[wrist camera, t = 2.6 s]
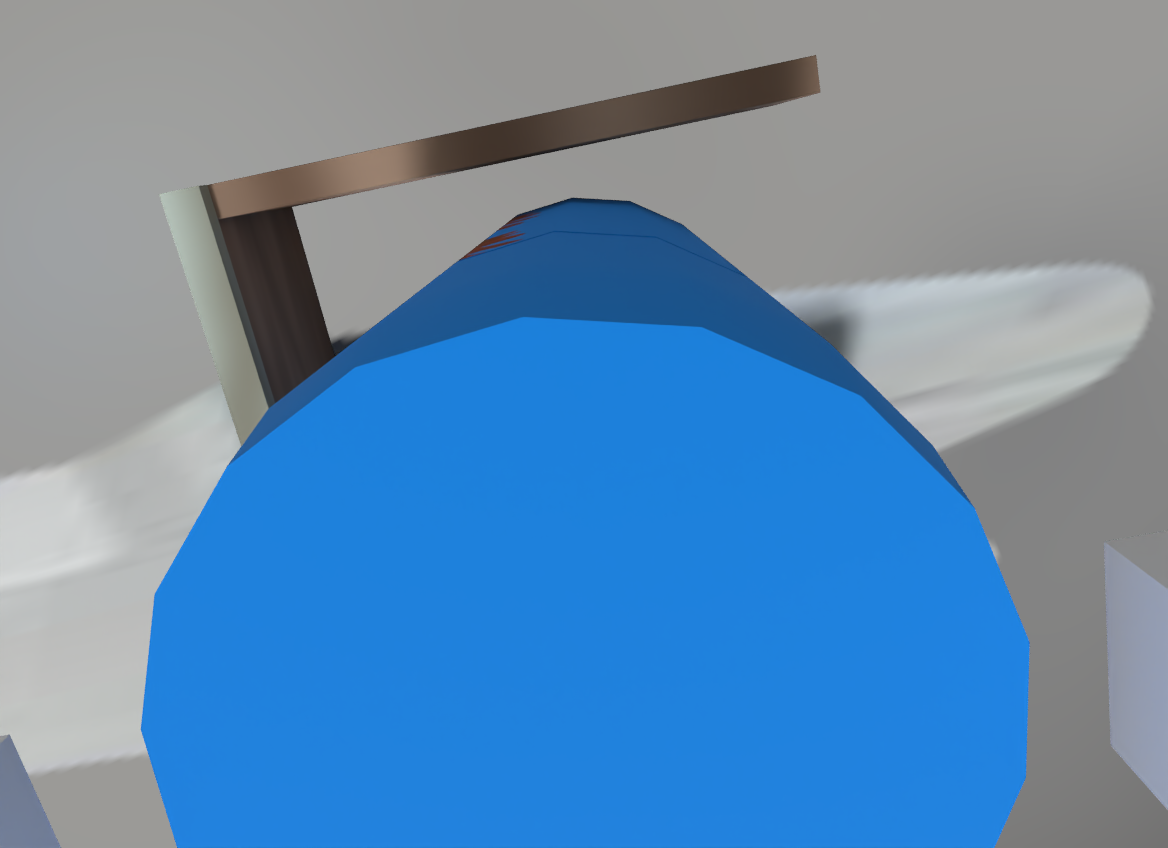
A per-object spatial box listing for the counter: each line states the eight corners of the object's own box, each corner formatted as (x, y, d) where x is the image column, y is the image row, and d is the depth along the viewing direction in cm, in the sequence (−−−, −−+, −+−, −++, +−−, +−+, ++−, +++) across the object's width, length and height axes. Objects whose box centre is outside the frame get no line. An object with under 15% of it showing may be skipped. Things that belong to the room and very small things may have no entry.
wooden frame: (769, 76, 32) (821, 52, 24) (823, 490, 36) (881, 574, 29) (255, 185, 33) (159, 194, 26) (369, 571, 37) (315, 672, 30)
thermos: (775, 398, 35) (1163, 923, 11) (535, 511, 37) (420, 1187, 13) (656, 139, 32) (831, 96, 8) (401, 273, 34) (-68, 561, 10)
